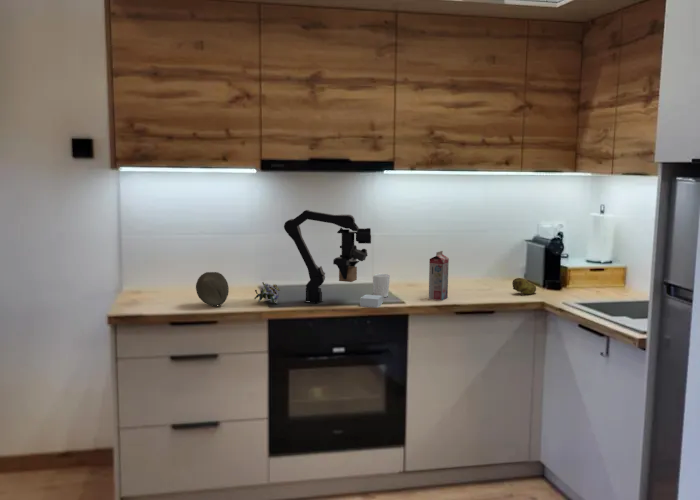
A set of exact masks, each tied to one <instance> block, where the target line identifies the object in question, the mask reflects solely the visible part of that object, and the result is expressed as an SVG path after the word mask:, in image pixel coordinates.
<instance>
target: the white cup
mask: <svg viewBox="0 0 700 500" xmlns="http://www.w3.org/2000/svg"><path fill="white" fill-rule="evenodd" d="M372 287H373V288H372V289H373V295H379V296H383V298H387V296H389V290H390V274H388V273H375V274H372Z"/></svg>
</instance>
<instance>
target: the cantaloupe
mask: <svg viewBox="0 0 700 500" xmlns="http://www.w3.org/2000/svg"><path fill="white" fill-rule="evenodd" d="M229 290H230V289H229V283H228V280H227V279H226V277H225V276H224V275H223V274H222V273H220V272H217V271H206V272H204V273H203V274H201V275H199V277H198V278H197V281H196V282H195V291H196V294H197V296H198V298H199V299H200V300H201V301H202V302H203V303H204V304H206V305H208V306H211V307H218V306H217V305H219V306H221V305H223V304H224V303H225V302H226V300H227V298H228V296H229V292H230V291H229Z"/></svg>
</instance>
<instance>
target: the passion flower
mask: <svg viewBox="0 0 700 500" xmlns="http://www.w3.org/2000/svg"><path fill="white" fill-rule="evenodd" d="M261 284H262V285H263V287H264V288H263V287H261V290H260V293H258V291H257V289H254V292H255V293H256V296H255V297H254V298H253V300H256V299H258V303H261V301H262V300H263V299H267V300H268V299H271V300H270V301H272V303H273V304H275V302H278V300H279V296H280V294H279V292H280V291H281V290H280V287H278V286H277V284H276V283H275V284H273V285H271V284H269V283H267V282H266V283H265V282H264V281H263V282H262V283H261ZM278 291H279V292H278Z"/></svg>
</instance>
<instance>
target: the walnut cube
mask: <svg viewBox="0 0 700 500" xmlns="http://www.w3.org/2000/svg"><path fill="white" fill-rule="evenodd" d="M357 271H358V267H357V266H356V265H355V266H349V267H348V271H347V278H346V279H343V276H342V274H341V272H340V270H339V269H338V281H339V282H344V283H346V282H347V283H348V282H349V283H353V282H354V281H355V282H356V281H357V279H358V277H357V275H358V273H357Z"/></svg>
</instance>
